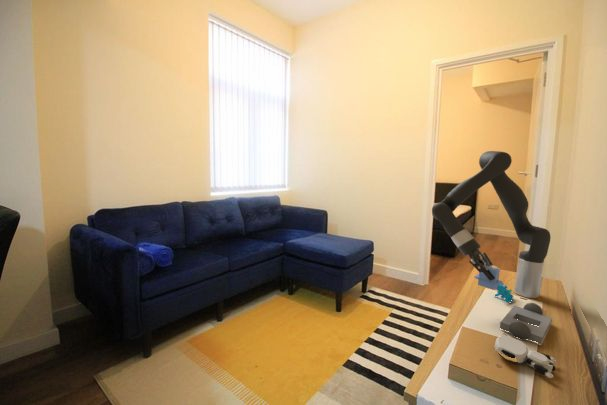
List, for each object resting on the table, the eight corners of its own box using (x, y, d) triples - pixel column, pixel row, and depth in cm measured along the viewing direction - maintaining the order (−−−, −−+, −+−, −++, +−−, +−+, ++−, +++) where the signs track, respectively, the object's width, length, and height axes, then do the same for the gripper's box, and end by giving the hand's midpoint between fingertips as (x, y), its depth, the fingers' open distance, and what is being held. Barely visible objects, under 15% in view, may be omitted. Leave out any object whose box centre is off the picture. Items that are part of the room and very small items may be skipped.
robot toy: (554, 367, 87) (497, 341, 97) (558, 354, 86) (500, 329, 96) (550, 388, 78) (489, 357, 89) (555, 374, 77) (492, 344, 88)
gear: (507, 302, 123) (493, 280, 128) (494, 307, 127) (482, 286, 132) (520, 301, 128) (506, 280, 134) (508, 305, 132) (495, 285, 138)
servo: (473, 283, 118) (476, 263, 116) (477, 281, 120) (479, 261, 119) (498, 291, 111) (501, 270, 110) (501, 288, 114) (504, 267, 112)
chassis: (498, 330, 104) (500, 315, 103) (514, 310, 119) (516, 297, 118) (539, 347, 95) (542, 331, 94) (551, 323, 110) (554, 309, 109)
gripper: (466, 240, 114) (497, 278, 107) (478, 235, 123) (508, 270, 116) (451, 249, 119) (480, 287, 111) (464, 244, 128) (491, 278, 121)
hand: (494, 278), depth 114 cm, fingers closed on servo, 4 cm apart
